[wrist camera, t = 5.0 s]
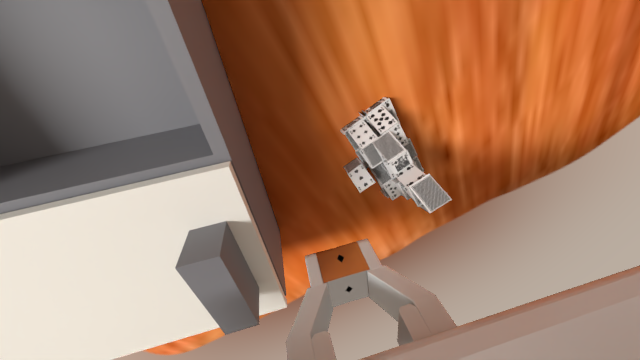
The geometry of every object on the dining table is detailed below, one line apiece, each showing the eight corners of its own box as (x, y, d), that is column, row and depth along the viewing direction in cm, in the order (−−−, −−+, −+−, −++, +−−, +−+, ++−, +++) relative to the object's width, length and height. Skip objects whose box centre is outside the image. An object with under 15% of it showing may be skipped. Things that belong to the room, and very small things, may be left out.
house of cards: (268, 148, 17) (272, 216, 10) (372, 70, 15) (452, 92, 9) (333, 220, 21) (364, 299, 15) (417, 165, 20) (490, 224, 14)
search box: (158, -125, 10) (43, -309, 4) (279, 231, 20) (286, 295, 15) (-260, -78, 8) (-1105, -267, 3) (107, 277, 19) (51, 364, 14)
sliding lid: (230, 160, 10) (221, 195, 7) (286, 299, 15) (290, 342, 13) (-175, 254, 8) (-325, 329, 6) (47, 370, 14) (8, 431, 11)
